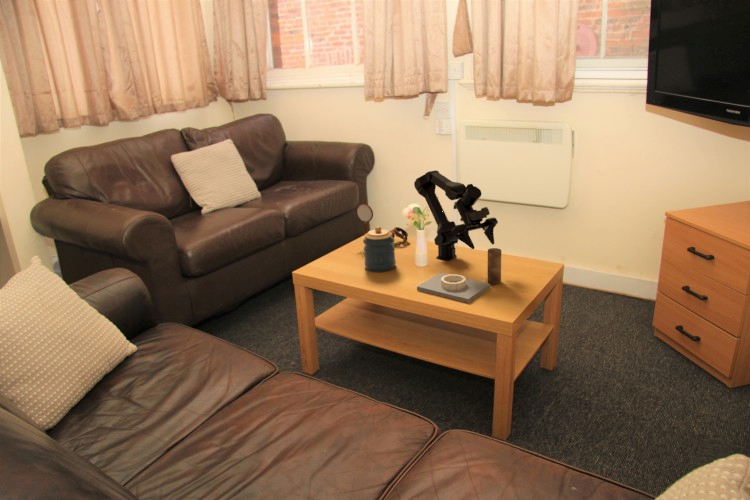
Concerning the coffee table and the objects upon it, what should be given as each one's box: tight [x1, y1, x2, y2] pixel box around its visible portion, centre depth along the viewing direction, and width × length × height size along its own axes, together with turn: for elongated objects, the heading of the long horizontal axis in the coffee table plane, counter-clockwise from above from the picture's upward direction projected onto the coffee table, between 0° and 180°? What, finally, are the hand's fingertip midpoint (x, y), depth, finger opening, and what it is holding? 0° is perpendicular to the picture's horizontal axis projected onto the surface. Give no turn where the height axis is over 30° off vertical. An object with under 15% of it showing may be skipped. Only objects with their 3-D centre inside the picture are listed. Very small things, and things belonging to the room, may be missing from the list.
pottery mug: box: [389, 226, 409, 245], centre depth 272 cm, size 12×10×8 cm
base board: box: [416, 272, 491, 304], centre depth 220 cm, size 22×16×4 cm
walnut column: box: [486, 247, 502, 286], centre depth 222 cm, size 5×5×13 cm
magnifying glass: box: [356, 203, 374, 239], centre depth 269 cm, size 9×2×20 cm, turn 57°
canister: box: [362, 225, 397, 273], centre depth 243 cm, size 13×13×18 cm
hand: (483, 246), depth 225 cm, fingers open, 9 cm apart
